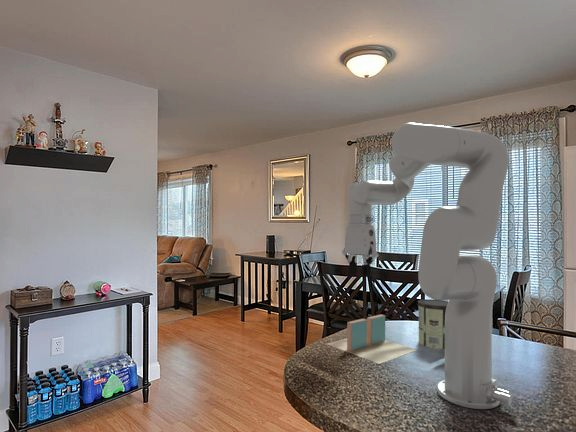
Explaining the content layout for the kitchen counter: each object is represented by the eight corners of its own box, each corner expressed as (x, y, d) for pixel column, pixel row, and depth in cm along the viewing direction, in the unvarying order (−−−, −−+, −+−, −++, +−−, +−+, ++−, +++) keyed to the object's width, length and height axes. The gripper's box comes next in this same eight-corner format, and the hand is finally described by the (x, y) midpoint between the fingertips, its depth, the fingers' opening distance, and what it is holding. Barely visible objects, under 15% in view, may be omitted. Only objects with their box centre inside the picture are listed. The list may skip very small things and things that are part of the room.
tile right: (385, 340, 118) (385, 315, 118) (371, 345, 113) (371, 318, 113) (380, 339, 119) (381, 314, 119) (366, 343, 115) (367, 317, 115)
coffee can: (445, 342, 120) (445, 299, 121) (459, 353, 110) (459, 306, 110) (413, 341, 121) (413, 298, 121) (424, 352, 110) (424, 305, 111)
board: (417, 354, 109) (417, 349, 109) (379, 368, 98) (379, 363, 98) (364, 337, 125) (364, 333, 125) (326, 347, 114) (326, 344, 114)
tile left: (367, 346, 112) (367, 319, 112) (351, 351, 108) (351, 323, 108) (362, 344, 113) (362, 318, 114) (347, 349, 109) (347, 322, 109)
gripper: (388, 221, 118) (387, 278, 118) (348, 220, 131) (347, 272, 131) (373, 220, 113) (372, 280, 113) (333, 220, 127) (332, 273, 126)
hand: (359, 275), depth 122 cm, fingers open, 4 cm apart
